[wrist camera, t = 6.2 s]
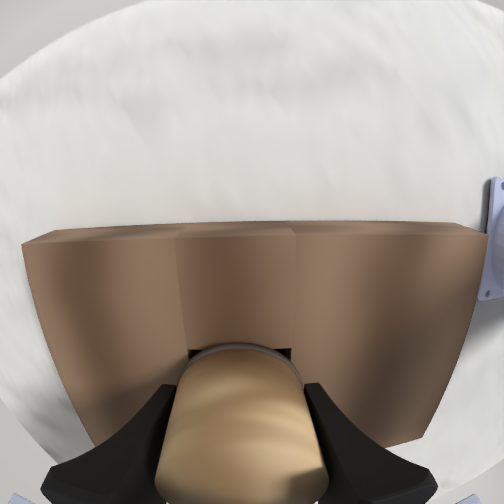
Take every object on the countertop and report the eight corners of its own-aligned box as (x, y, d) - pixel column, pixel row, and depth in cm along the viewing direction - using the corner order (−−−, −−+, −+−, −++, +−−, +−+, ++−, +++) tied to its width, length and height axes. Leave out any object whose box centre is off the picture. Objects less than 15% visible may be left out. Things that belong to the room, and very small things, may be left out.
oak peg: (295, 312, 14) (346, 436, 6) (289, 398, 15) (317, 517, 7) (180, 314, 14) (132, 440, 6) (192, 400, 15) (172, 520, 7)
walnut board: (454, 222, 14) (488, 235, 11) (406, 410, 18) (422, 437, 15) (54, 230, 13) (21, 244, 11) (109, 419, 17) (96, 448, 14)
